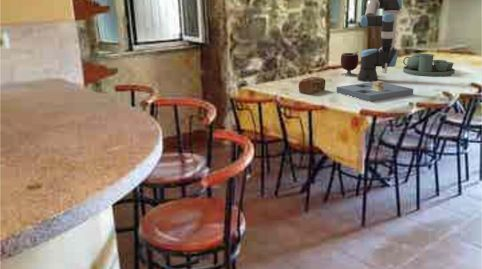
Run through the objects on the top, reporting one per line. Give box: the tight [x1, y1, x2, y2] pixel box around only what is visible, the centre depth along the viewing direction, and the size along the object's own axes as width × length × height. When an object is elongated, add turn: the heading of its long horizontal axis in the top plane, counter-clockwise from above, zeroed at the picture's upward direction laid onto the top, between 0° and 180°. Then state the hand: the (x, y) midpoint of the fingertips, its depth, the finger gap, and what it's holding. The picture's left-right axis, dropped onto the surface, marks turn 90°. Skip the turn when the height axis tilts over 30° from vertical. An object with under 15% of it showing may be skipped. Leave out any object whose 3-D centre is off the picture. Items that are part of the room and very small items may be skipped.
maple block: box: [372, 80, 384, 90], centre depth 313 cm, size 5×5×5 cm
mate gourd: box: [340, 51, 359, 77], centre depth 385 cm, size 16×14×20 cm
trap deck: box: [336, 81, 414, 102], centre depth 319 cm, size 38×32×4 cm
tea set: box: [402, 52, 456, 77], centre depth 392 cm, size 40×40×16 cm
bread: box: [298, 76, 326, 95], centre depth 329 cm, size 19×11×10 cm, turn 137°
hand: (384, 72), depth 323 cm, fingers closed
